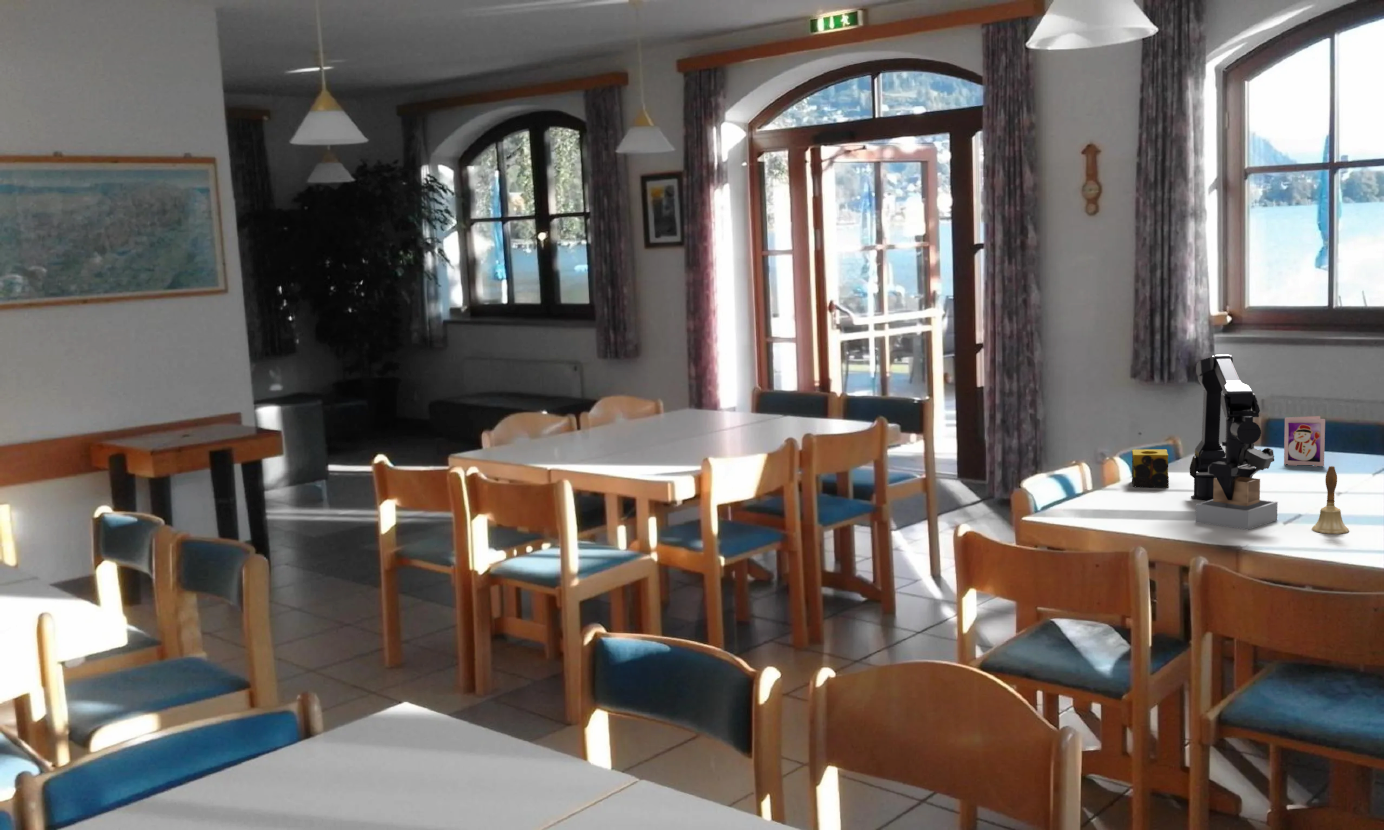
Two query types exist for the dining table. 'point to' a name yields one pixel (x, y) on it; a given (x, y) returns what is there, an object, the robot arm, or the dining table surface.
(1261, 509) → the grey crate
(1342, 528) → the hand bell
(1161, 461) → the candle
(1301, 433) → the greeting card
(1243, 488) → the walnut crate
